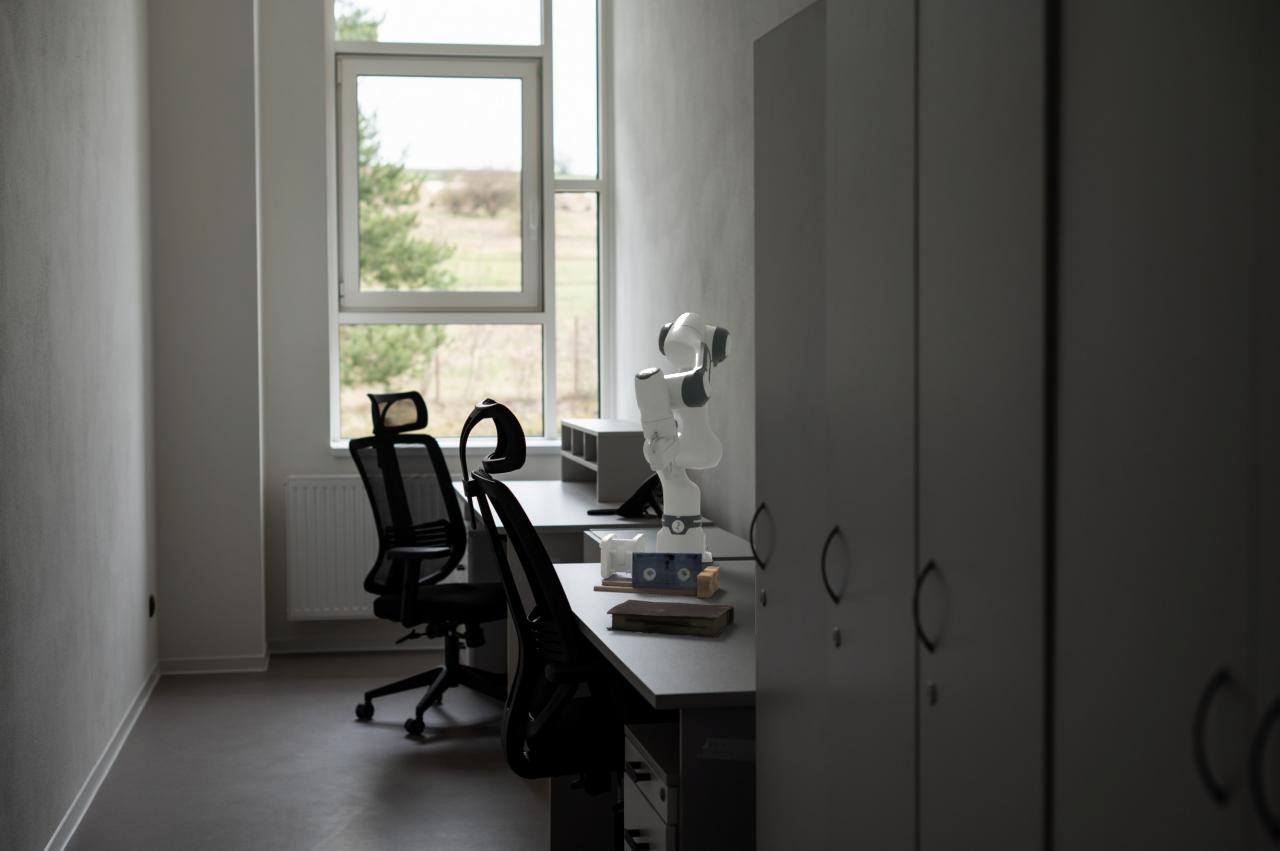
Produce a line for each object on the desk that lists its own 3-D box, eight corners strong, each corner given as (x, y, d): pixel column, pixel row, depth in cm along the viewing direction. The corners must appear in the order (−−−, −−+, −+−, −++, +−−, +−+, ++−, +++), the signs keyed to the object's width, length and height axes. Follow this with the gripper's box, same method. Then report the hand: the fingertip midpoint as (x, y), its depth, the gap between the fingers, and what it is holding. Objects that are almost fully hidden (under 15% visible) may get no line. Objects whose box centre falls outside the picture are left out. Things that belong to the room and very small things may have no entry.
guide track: (606, 582, 342) (606, 561, 342) (719, 587, 335) (719, 566, 335) (590, 592, 327) (590, 570, 326) (709, 598, 320) (709, 576, 319)
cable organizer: (636, 582, 343) (637, 539, 343) (598, 581, 345) (598, 538, 344) (645, 573, 358) (645, 532, 358) (608, 572, 360) (608, 531, 359)
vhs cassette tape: (701, 590, 332) (702, 552, 332) (702, 592, 329) (702, 554, 329) (631, 589, 332) (631, 552, 332) (631, 591, 329) (631, 553, 329)
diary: (629, 618, 296) (629, 597, 296) (734, 625, 290) (734, 603, 289) (605, 633, 279) (605, 610, 278) (716, 640, 272) (716, 617, 271)
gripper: (661, 435, 327) (672, 486, 329) (678, 419, 346) (688, 468, 349) (638, 439, 329) (649, 490, 331) (656, 423, 348) (666, 471, 350)
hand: (669, 478), depth 340 cm, fingers closed
